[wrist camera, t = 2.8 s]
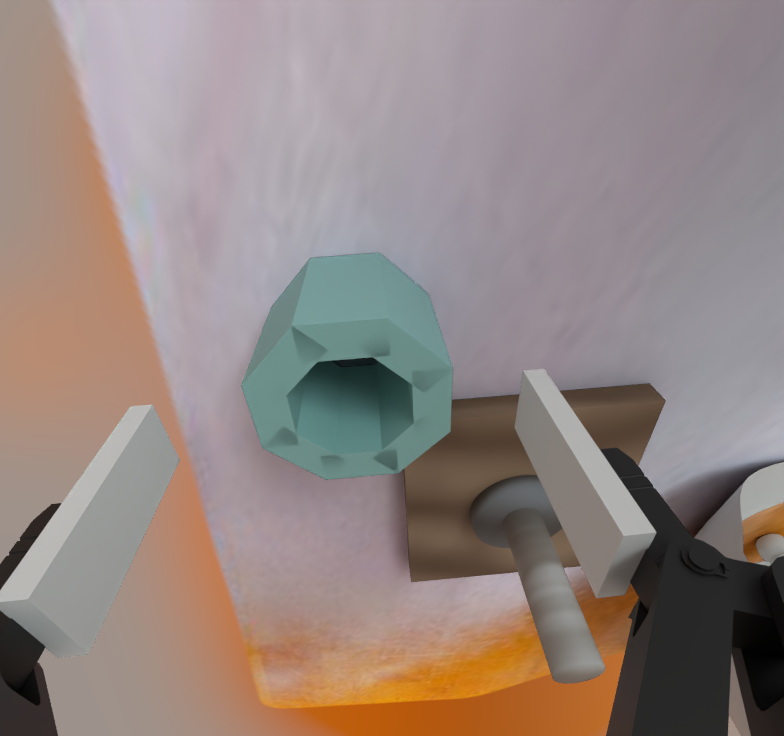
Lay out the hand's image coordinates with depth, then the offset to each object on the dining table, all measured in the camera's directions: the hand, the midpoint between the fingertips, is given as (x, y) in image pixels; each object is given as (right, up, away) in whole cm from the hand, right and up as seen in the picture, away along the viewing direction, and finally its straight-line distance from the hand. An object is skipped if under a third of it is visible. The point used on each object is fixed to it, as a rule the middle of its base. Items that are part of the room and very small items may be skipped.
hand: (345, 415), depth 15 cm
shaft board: (+10, -6, +12) cm, 17 cm away
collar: (0, +4, +5) cm, 6 cm away
